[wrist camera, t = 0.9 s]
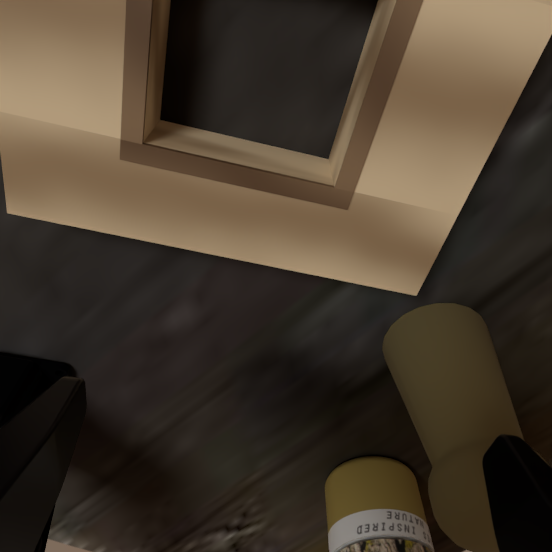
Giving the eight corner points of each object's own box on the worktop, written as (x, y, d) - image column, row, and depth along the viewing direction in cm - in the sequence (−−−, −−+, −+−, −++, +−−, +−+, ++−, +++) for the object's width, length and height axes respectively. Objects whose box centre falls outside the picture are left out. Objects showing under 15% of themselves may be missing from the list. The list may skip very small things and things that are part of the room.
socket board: (402, 259, 24) (416, 296, 21) (38, 183, 22) (6, 213, 19) (595, -150, 15) (658, -171, 12) (3, -352, 13) (-65, -427, 10)
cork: (400, 295, 25) (466, 489, 16) (506, 310, 26) (627, 506, 17) (369, 372, 29) (410, 567, 20) (463, 384, 29) (545, 579, 20)
